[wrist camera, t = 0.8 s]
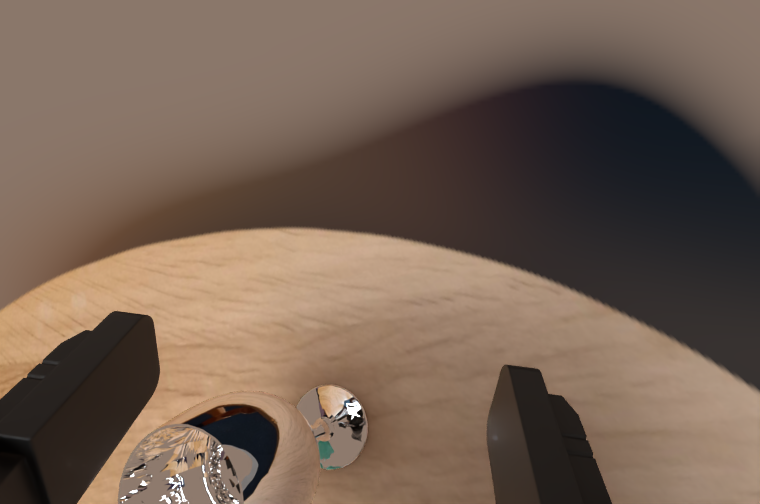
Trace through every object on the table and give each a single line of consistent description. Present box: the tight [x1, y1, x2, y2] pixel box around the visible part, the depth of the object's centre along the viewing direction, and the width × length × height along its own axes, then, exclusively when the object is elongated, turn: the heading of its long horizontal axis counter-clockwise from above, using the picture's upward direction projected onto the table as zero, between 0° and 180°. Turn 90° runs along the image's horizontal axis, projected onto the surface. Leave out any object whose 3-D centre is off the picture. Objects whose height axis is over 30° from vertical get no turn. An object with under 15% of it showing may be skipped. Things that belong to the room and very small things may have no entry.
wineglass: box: [118, 384, 368, 504], centre depth 21 cm, size 6×6×12 cm
